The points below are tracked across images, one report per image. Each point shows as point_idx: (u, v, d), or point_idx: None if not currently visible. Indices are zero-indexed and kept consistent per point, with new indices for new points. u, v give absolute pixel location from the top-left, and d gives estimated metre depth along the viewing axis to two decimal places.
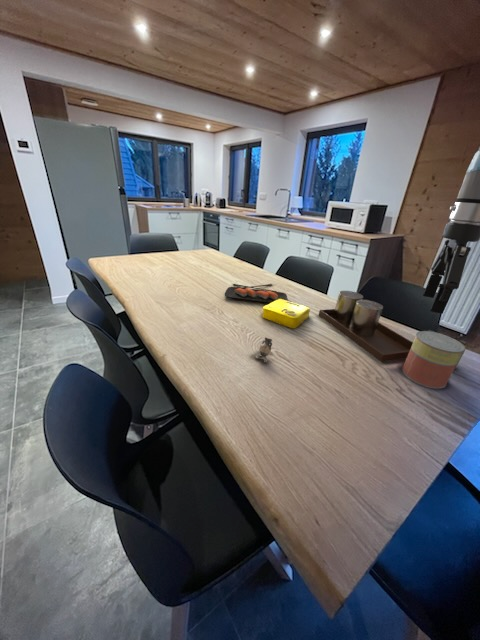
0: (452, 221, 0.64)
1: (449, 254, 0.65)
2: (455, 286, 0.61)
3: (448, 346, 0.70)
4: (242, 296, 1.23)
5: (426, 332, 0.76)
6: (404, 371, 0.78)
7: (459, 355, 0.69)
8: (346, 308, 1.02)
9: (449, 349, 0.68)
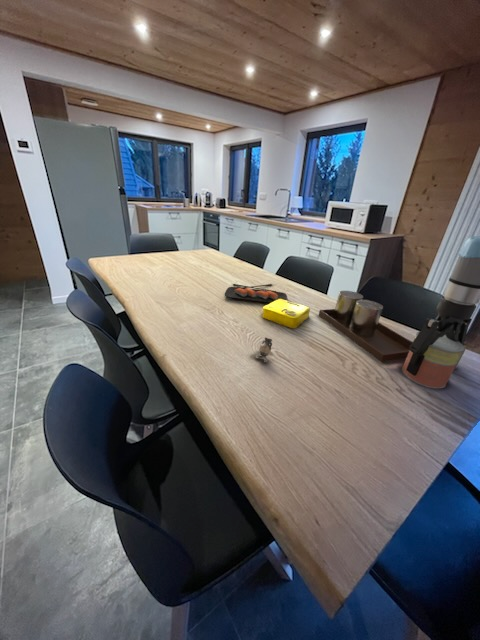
0: None
1: None
2: (414, 351, 0.70)
3: (448, 346, 0.70)
4: (242, 296, 1.23)
5: None
6: (404, 371, 0.78)
7: (459, 355, 0.69)
8: (346, 308, 1.02)
9: (449, 349, 0.68)
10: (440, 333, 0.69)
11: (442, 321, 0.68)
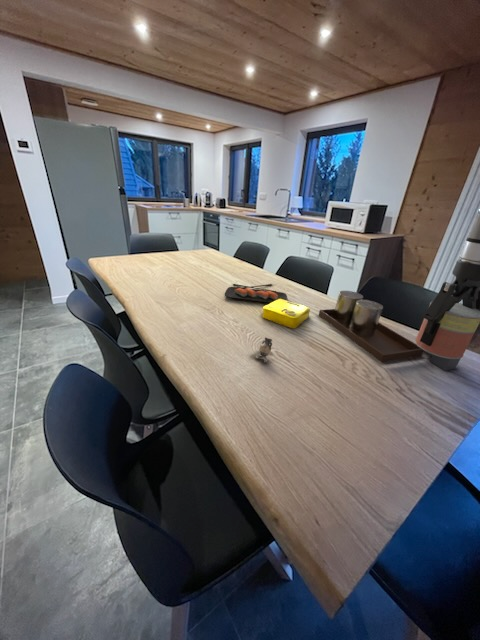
0: None
1: None
2: (429, 318, 0.66)
3: (466, 312, 0.66)
4: (242, 296, 1.23)
5: None
6: (417, 343, 0.74)
7: (478, 321, 0.64)
8: (346, 308, 1.02)
9: (467, 315, 0.64)
10: (457, 298, 0.64)
11: (459, 284, 0.63)
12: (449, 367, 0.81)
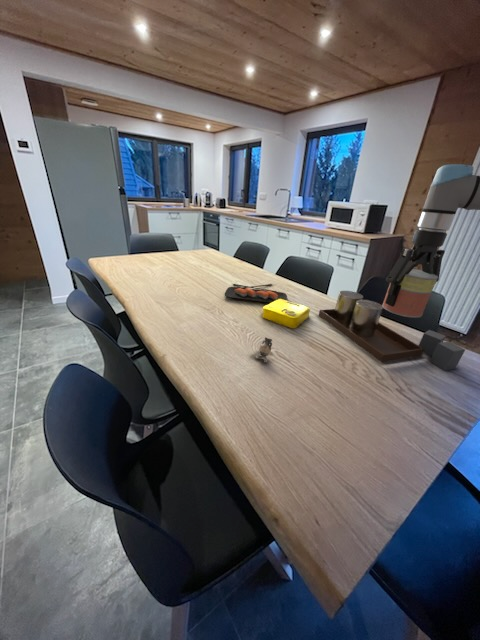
0: None
1: (410, 256, 0.76)
2: (391, 280, 0.75)
3: (423, 275, 0.75)
4: (242, 296, 1.23)
5: None
6: (384, 305, 0.83)
7: (432, 282, 0.74)
8: (346, 308, 1.02)
9: (423, 277, 0.74)
10: (415, 262, 0.74)
11: (416, 250, 0.73)
12: (449, 367, 0.81)
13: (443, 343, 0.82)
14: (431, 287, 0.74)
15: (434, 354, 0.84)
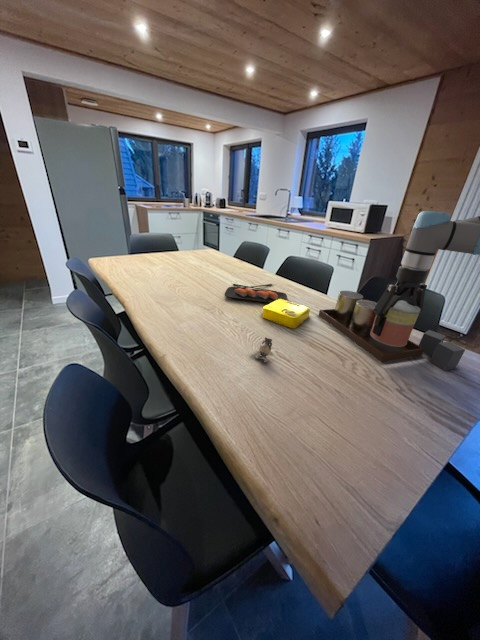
0: None
1: None
2: (377, 313, 0.81)
3: (406, 308, 0.81)
4: (242, 296, 1.23)
5: None
6: (371, 334, 0.89)
7: (415, 315, 0.79)
8: (346, 308, 1.02)
9: (406, 310, 0.79)
10: (399, 297, 0.80)
11: (400, 286, 0.78)
12: (449, 367, 0.81)
13: (443, 343, 0.82)
14: (414, 320, 0.80)
15: (434, 354, 0.84)
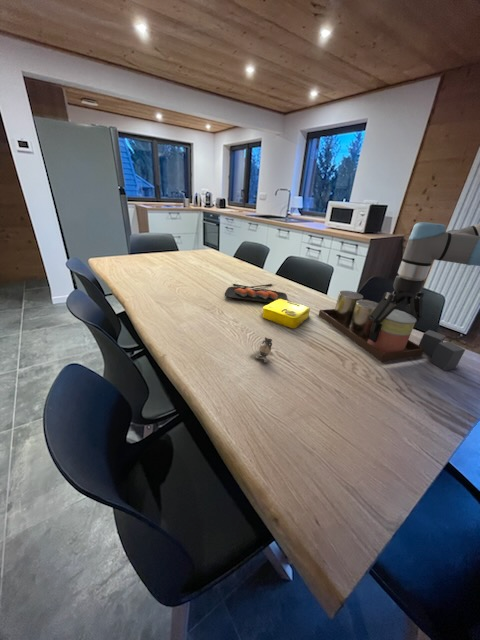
0: None
1: None
2: (372, 320, 0.81)
3: (402, 318, 0.82)
4: (242, 296, 1.23)
5: None
6: None
7: (411, 326, 0.81)
8: (346, 308, 1.02)
9: (402, 321, 0.81)
10: (395, 306, 0.81)
11: (396, 295, 0.80)
12: (449, 367, 0.81)
13: (443, 343, 0.82)
14: (410, 330, 0.82)
15: (434, 354, 0.84)
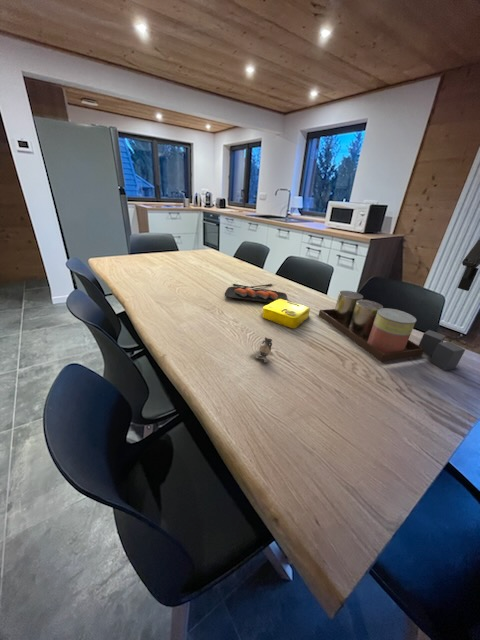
0: None
1: None
2: (469, 263, 0.72)
3: (402, 318, 0.82)
4: (242, 296, 1.23)
5: (387, 309, 0.89)
6: None
7: (411, 326, 0.81)
8: (346, 308, 1.02)
9: (402, 321, 0.81)
10: None
11: None
12: (449, 367, 0.81)
13: (443, 343, 0.82)
14: (410, 330, 0.82)
15: (434, 354, 0.84)
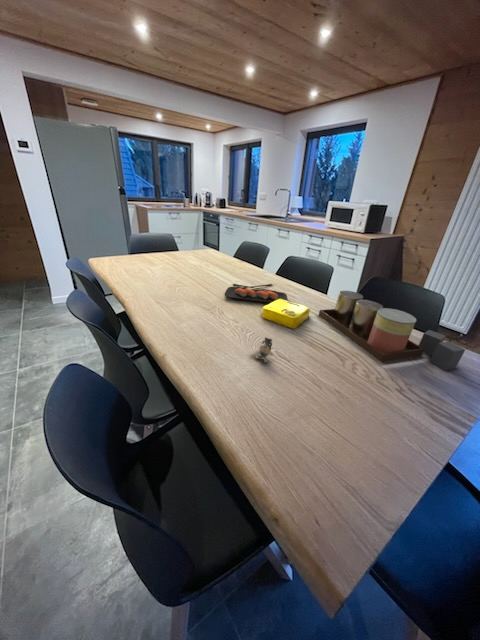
0: None
1: None
2: None
3: (402, 318, 0.82)
4: (242, 296, 1.23)
5: (387, 309, 0.89)
6: None
7: (411, 326, 0.81)
8: (346, 308, 1.02)
9: (402, 321, 0.81)
10: None
11: None
12: (449, 367, 0.81)
13: (443, 343, 0.82)
14: (410, 330, 0.82)
15: (434, 354, 0.84)
